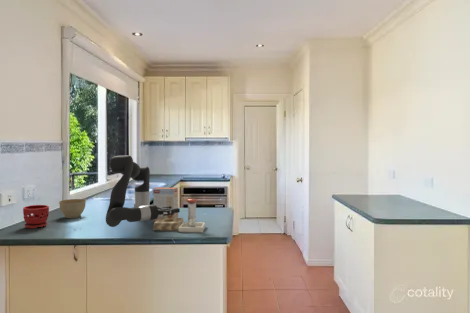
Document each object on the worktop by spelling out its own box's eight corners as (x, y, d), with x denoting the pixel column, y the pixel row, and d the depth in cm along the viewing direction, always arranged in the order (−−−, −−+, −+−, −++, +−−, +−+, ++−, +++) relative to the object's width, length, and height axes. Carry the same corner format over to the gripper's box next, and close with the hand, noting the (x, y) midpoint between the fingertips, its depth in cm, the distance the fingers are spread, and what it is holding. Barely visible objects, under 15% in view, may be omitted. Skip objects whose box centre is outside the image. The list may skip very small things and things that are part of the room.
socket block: (153, 230, 194) (153, 223, 194) (159, 224, 208) (159, 218, 208) (179, 230, 194) (178, 223, 194) (183, 224, 208) (183, 217, 208)
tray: (178, 232, 190) (178, 227, 189) (182, 226, 203) (182, 222, 202) (202, 232, 189) (202, 227, 189) (205, 226, 202) (205, 222, 202)
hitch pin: (186, 229, 193) (186, 200, 193) (187, 226, 199) (187, 198, 198) (196, 229, 193) (196, 200, 192) (197, 226, 199) (197, 198, 198)
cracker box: (178, 221, 218) (178, 187, 218) (174, 223, 212) (173, 188, 212) (158, 220, 222) (157, 186, 221) (153, 222, 216) (153, 188, 216)
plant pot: (19, 230, 198) (19, 208, 197) (28, 225, 211) (28, 205, 210) (45, 228, 200) (44, 207, 200) (52, 223, 213) (51, 204, 213)
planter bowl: (68, 220, 222) (68, 203, 222) (54, 217, 231) (54, 201, 231) (91, 216, 235) (91, 200, 235) (77, 213, 244) (76, 198, 244)
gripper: (153, 207, 173) (181, 203, 183) (140, 203, 184) (168, 200, 194) (153, 222, 173) (182, 218, 183) (141, 218, 184) (168, 214, 194)
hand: (175, 209), depth 189 cm, fingers open, 8 cm apart
